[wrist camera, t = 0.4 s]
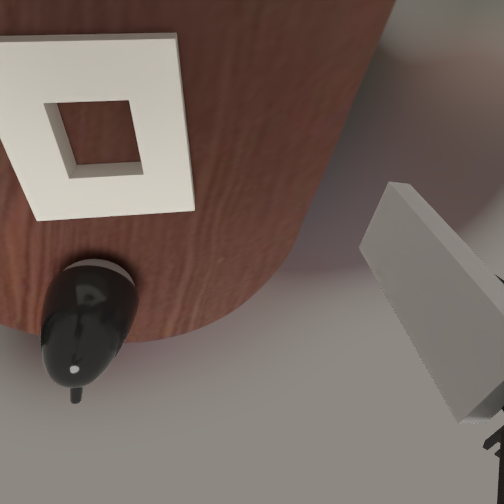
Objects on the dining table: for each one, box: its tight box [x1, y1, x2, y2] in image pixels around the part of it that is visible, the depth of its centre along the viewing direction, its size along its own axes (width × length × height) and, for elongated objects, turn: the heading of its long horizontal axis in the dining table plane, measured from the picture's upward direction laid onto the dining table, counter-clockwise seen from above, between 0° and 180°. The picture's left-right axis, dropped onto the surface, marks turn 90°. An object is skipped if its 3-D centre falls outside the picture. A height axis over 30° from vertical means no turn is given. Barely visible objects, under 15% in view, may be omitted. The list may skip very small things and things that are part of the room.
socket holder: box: [0, 33, 195, 221], centre depth 34 cm, size 16×16×3 cm
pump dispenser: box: [40, 259, 139, 404], centre depth 41 cm, size 10×10×15 cm
